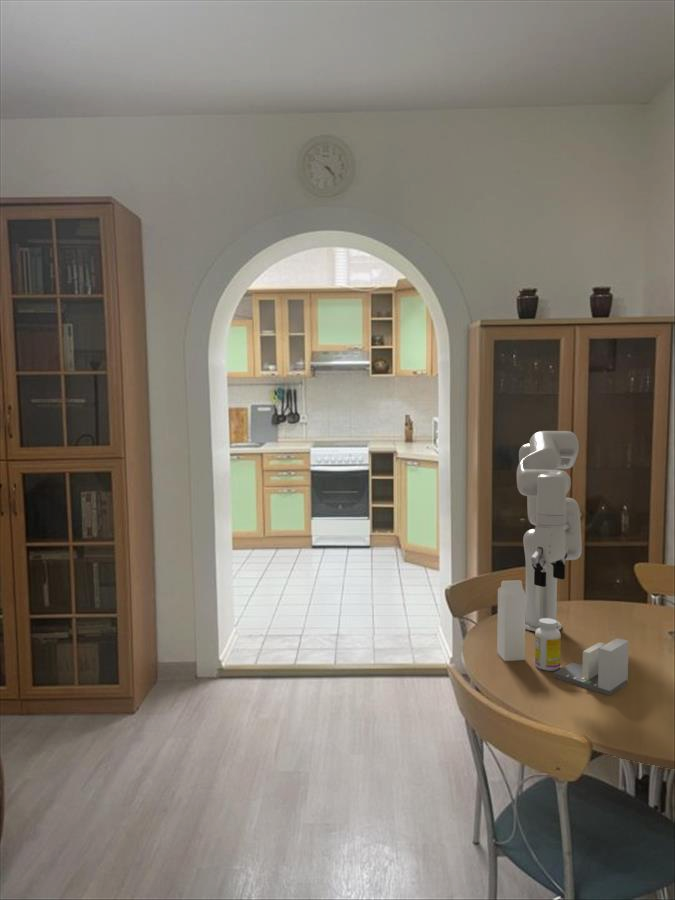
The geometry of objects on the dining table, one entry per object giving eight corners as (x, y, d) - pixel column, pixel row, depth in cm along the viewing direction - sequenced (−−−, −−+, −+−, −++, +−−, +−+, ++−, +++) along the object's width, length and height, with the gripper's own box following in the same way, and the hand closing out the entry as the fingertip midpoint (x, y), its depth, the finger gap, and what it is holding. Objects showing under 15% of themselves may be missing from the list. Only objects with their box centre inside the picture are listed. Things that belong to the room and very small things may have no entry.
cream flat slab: (579, 679, 168) (579, 653, 168) (598, 668, 175) (599, 642, 175) (585, 681, 167) (585, 654, 167) (604, 669, 174) (605, 643, 174)
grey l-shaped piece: (553, 677, 175) (554, 635, 174) (572, 666, 181) (573, 626, 181) (609, 695, 164) (610, 651, 163) (627, 683, 170) (628, 641, 170)
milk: (497, 653, 191) (497, 578, 190) (517, 652, 192) (517, 577, 190) (504, 661, 185) (504, 583, 184) (525, 660, 186) (525, 582, 184)
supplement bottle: (564, 666, 182) (565, 620, 181) (553, 673, 177) (554, 626, 176) (541, 659, 186) (542, 615, 185) (530, 667, 181) (531, 621, 180)
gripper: (554, 513, 187) (553, 572, 189) (520, 522, 175) (519, 585, 177) (579, 517, 182) (578, 578, 183) (546, 526, 170) (545, 592, 172)
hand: (549, 581), depth 180 cm, fingers open, 9 cm apart
